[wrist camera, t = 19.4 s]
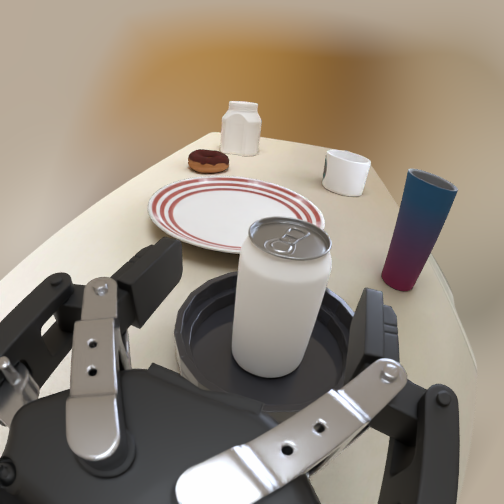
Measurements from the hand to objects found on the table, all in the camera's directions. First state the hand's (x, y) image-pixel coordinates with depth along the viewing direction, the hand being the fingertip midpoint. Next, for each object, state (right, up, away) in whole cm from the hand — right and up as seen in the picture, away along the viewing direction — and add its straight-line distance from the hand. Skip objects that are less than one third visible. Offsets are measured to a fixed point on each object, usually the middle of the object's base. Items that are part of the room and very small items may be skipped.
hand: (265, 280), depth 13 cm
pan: (+1, -8, +14) cm, 16 cm away
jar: (-4, +31, +75) cm, 82 cm away
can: (+1, -8, +14) cm, 16 cm away
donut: (-11, +21, +59) cm, 63 cm away
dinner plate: (-3, +6, +36) cm, 37 cm away
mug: (+21, +17, +58) cm, 64 cm away
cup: (+20, -3, +27) cm, 33 cm away
